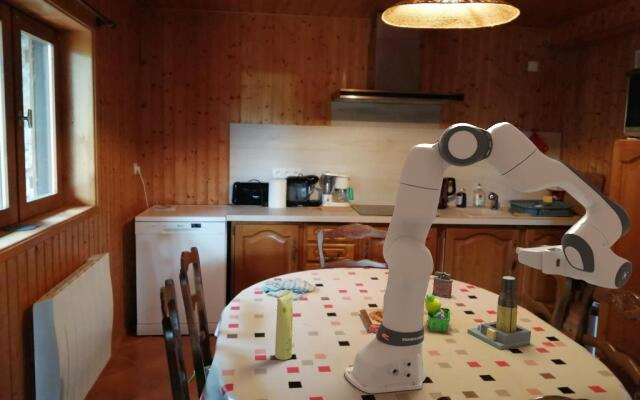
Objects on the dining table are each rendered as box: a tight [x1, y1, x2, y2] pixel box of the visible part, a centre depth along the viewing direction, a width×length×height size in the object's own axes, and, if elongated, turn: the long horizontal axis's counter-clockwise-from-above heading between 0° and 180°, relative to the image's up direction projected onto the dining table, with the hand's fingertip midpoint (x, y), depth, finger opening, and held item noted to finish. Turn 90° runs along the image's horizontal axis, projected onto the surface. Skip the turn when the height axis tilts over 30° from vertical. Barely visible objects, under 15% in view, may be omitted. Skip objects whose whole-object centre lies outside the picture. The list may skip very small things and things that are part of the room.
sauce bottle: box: [496, 275, 519, 333], centre depth 175 cm, size 6×6×20 cm
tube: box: [274, 289, 293, 361], centre depth 155 cm, size 6×5×20 cm
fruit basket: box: [424, 294, 452, 333], centre depth 185 cm, size 11×9×11 cm
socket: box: [480, 320, 532, 345], centre depth 176 cm, size 12×11×3 cm
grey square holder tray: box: [467, 320, 531, 350], centre depth 177 cm, size 13×15×3 cm
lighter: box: [431, 271, 454, 299], centre depth 220 cm, size 8×3×10 cm, turn 58°
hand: (529, 248), depth 157 cm, fingers open, 8 cm apart
